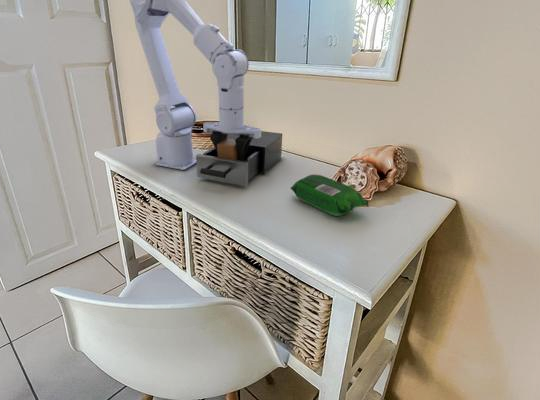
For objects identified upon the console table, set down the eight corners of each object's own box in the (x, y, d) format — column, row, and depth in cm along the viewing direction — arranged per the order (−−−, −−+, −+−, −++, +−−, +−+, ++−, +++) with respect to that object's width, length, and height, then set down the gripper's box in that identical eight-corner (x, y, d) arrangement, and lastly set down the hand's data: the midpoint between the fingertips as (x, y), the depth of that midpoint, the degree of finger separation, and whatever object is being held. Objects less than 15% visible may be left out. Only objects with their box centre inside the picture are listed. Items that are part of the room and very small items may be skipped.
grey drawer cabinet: (264, 174, 85) (265, 147, 82) (215, 166, 91) (214, 140, 87) (281, 158, 96) (282, 133, 92) (236, 151, 102) (235, 128, 98)
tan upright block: (218, 171, 82) (216, 144, 79) (227, 164, 86) (226, 138, 83) (234, 174, 80) (233, 146, 77) (243, 167, 84) (242, 140, 81)
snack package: (345, 227, 62) (349, 202, 60) (287, 196, 74) (288, 175, 71) (368, 216, 66) (373, 192, 64) (309, 189, 77) (311, 168, 75)
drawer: (238, 193, 74) (238, 169, 71) (188, 183, 79) (186, 160, 76) (265, 168, 87) (266, 147, 84) (220, 161, 92) (220, 141, 89)
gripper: (266, 106, 77) (264, 161, 83) (212, 102, 83) (214, 153, 89) (255, 113, 72) (253, 171, 78) (197, 107, 77) (200, 162, 84)
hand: (231, 162), depth 83 cm, fingers closed on tan upright block, 4 cm apart
